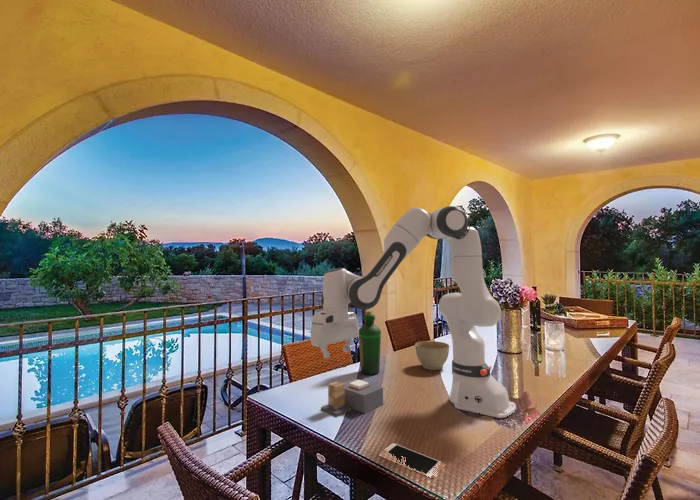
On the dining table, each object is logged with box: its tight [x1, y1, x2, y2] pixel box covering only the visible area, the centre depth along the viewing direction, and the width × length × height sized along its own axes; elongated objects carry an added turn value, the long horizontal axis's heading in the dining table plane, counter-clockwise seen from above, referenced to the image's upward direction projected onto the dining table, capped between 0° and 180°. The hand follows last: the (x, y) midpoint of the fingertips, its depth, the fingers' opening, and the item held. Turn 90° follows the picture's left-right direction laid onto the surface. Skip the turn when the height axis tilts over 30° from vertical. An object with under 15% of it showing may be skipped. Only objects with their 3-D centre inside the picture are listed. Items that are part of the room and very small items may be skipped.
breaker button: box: [349, 379, 370, 391], centre depth 126 cm, size 5×5×5 cm
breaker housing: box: [342, 378, 384, 414], centre depth 126 cm, size 14×10×6 cm
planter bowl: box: [414, 340, 450, 371], centre depth 168 cm, size 16×16×11 cm
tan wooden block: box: [327, 381, 345, 411], centre depth 121 cm, size 4×4×8 cm
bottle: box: [358, 310, 382, 376], centre depth 161 cm, size 11×11×28 cm
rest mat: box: [320, 404, 353, 417], centre depth 121 cm, size 8×7×1 cm
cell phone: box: [383, 442, 442, 479], centre depth 90 cm, size 8×16×1 cm, turn 50°
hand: (336, 354), depth 121 cm, fingers open, 8 cm apart
